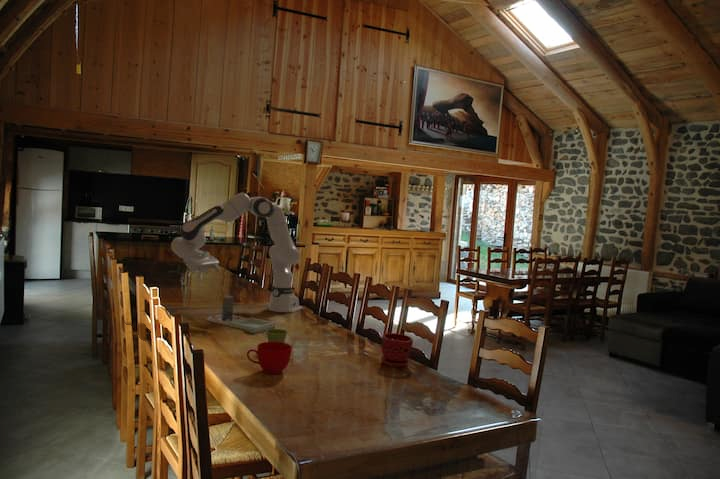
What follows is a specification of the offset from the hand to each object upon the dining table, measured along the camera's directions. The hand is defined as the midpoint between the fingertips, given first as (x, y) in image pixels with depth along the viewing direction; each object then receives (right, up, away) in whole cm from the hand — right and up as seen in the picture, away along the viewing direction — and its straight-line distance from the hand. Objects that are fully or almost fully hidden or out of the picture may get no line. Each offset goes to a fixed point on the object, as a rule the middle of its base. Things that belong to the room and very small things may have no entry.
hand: (213, 271), depth 287 cm
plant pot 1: (+40, -32, -49) cm, 71 cm away
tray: (+8, -26, -4) cm, 28 cm away
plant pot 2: (+92, -37, -55) cm, 113 cm away
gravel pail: (+8, -25, -4) cm, 27 cm away
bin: (+23, -28, -11) cm, 38 cm away
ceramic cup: (+42, -34, -78) cm, 95 cm away
